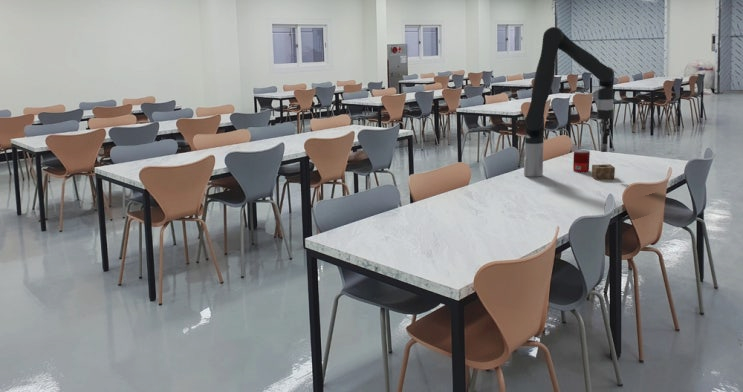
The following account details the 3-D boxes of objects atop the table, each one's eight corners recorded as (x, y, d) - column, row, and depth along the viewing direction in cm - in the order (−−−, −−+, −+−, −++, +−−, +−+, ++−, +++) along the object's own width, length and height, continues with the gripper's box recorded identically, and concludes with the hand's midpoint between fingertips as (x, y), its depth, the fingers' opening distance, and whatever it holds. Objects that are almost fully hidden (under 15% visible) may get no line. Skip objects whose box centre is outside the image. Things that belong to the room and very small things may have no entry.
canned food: (590, 172, 341) (591, 151, 338) (575, 172, 341) (576, 152, 338) (586, 169, 348) (587, 149, 346) (571, 170, 348) (572, 149, 346)
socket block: (595, 179, 322) (596, 167, 320) (591, 176, 331) (592, 164, 329) (614, 179, 321) (614, 167, 319) (609, 175, 329) (610, 164, 328)
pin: (601, 152, 321) (602, 128, 318) (600, 151, 324) (600, 127, 321) (607, 151, 321) (608, 127, 318) (606, 150, 323) (607, 127, 321)
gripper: (594, 107, 325) (593, 141, 329) (600, 110, 311) (599, 145, 315) (609, 106, 324) (608, 141, 328) (616, 109, 310) (615, 145, 314)
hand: (604, 143), depth 321 cm, fingers closed on pin, 3 cm apart
